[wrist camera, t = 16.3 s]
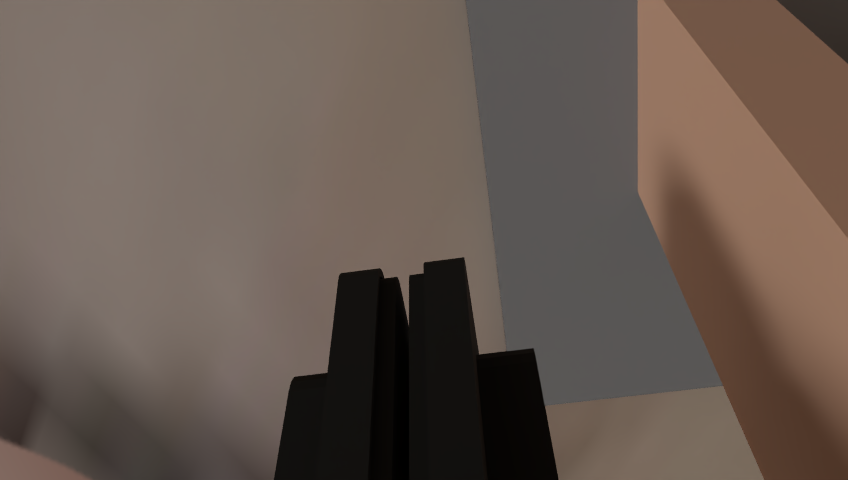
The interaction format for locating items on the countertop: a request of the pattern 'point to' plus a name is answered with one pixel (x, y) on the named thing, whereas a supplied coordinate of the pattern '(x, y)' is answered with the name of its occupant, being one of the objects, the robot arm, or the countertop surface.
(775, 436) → the terracotta tile
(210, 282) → the countertop surface
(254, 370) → the countertop surface
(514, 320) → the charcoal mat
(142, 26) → the countertop surface
